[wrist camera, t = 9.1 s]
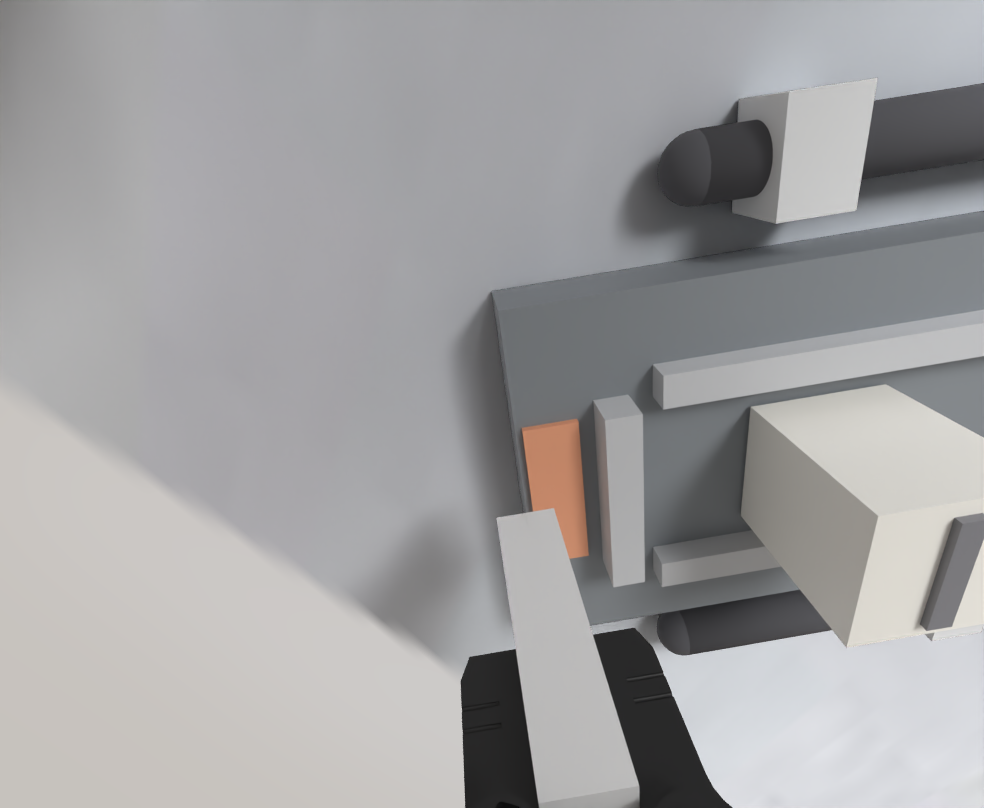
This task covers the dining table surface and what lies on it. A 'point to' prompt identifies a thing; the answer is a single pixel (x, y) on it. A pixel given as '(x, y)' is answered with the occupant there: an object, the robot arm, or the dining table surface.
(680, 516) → the panel
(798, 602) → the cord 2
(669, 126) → the dining table surface
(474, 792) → the robot arm
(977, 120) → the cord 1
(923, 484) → the toggle
